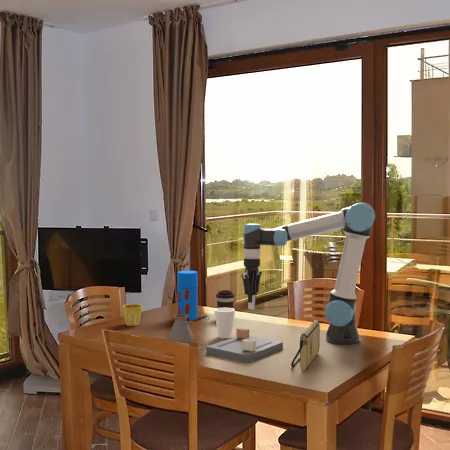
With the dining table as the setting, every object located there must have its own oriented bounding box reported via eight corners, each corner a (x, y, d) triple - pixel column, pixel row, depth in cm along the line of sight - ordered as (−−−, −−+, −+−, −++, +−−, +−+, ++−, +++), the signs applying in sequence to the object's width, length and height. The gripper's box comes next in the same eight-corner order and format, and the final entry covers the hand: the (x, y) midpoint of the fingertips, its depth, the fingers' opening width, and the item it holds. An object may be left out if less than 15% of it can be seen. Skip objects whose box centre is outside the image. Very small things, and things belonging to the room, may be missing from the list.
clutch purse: (304, 351, 265) (304, 317, 264) (320, 353, 263) (320, 318, 262) (287, 371, 237) (288, 333, 236) (305, 373, 235) (306, 335, 234)
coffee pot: (162, 344, 277) (162, 311, 276) (179, 339, 286) (179, 307, 285) (199, 352, 264) (199, 318, 263) (216, 346, 273) (215, 313, 272)
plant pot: (146, 325, 314) (146, 306, 314) (127, 327, 309) (127, 308, 308) (137, 321, 323) (137, 302, 322) (119, 323, 317) (118, 305, 316)
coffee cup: (217, 316, 334) (217, 289, 333) (235, 317, 332) (235, 289, 331) (214, 320, 324) (214, 292, 323) (233, 321, 322) (233, 293, 321)
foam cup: (237, 335, 293) (237, 308, 292) (229, 340, 284) (229, 312, 283) (219, 333, 297) (219, 307, 296) (211, 338, 288) (211, 310, 287)
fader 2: (256, 349, 256) (256, 340, 255) (252, 351, 253) (252, 341, 253) (246, 347, 259) (246, 338, 258) (242, 349, 256) (242, 339, 256)
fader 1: (249, 337, 276) (249, 328, 276) (245, 338, 274) (245, 329, 273) (240, 335, 279) (240, 327, 279) (236, 337, 277) (236, 328, 276)
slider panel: (282, 348, 269) (282, 341, 269) (248, 362, 249) (248, 355, 249) (242, 340, 283) (242, 334, 283) (206, 353, 262) (206, 346, 262)
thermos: (197, 320, 324) (196, 273, 323) (176, 320, 324) (176, 273, 323) (198, 316, 335) (198, 270, 333) (178, 316, 335) (178, 270, 334)
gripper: (253, 255, 287) (253, 305, 288) (236, 258, 276) (236, 310, 278) (266, 257, 282) (266, 307, 284) (250, 259, 272) (249, 312, 273)
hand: (251, 309), depth 281 cm, fingers closed
